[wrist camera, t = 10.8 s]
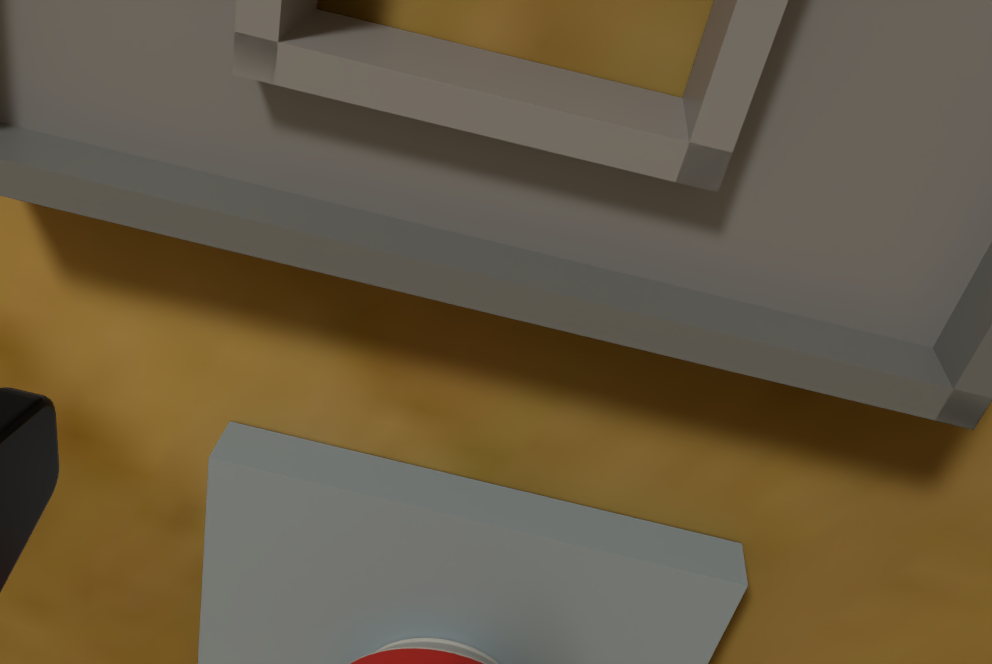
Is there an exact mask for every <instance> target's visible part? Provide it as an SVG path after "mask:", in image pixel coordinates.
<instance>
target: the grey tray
mask: <svg viewBox="0 0 992 664" xmlns="http://www.w3.org/2000/svg"><path fill="white" fill-rule="evenodd" d="M317 1H318V0H0V196H4V197H8V198H12V199H16V200H20V201H25V202H29V203H33V204H37V205H41V206H45V207H50V208H54V209H58V210H62V211H66V212H70V213H74V214H79V215H83V216H87V217H91V218H95V219H99V220H104V221H108V222H112V223H116V224H120V225H124V226H129V227H133V228H137V229H141V230H145V231H149V232H153V233H158V234H162V235H166V236H170V237H174V238H178V239H183V240H187V241H191V242H195V243H199V244H203V245H207V246H212V247H216V248H220V249H224V250H228V251H232V252H237V253H241V254H245V255H249V256H253V257H257V258H262V259H266V260H270V261H274V262H278V263H282V264H286V265H291V266H295V267H299V268H303V269H307V270H311V271H316V272H320V273H324V274H328V275H332V276H336V277H340V278H345V279H349V280H353V281H357V282H361V283H365V284H370V285H374V286H378V287H382V288H386V289H390V290H394V291H399V292H403V293H407V294H411V295H415V296H419V297H424V298H428V299H432V300H436V301H440V302H444V303H449V304H453V305H457V306H461V307H465V308H469V309H473V310H478V311H482V312H486V313H490V314H494V315H498V316H503V317H507V318H511V319H515V320H519V321H523V322H527V323H532V324H536V325H540V326H544V327H548V328H552V329H557V330H561V331H565V332H569V333H573V334H577V335H582V336H586V337H590V338H594V339H598V340H602V341H606V342H611V343H615V344H619V345H623V346H627V347H631V348H636V349H640V350H644V351H648V352H652V353H656V354H660V355H665V356H669V357H673V358H677V359H681V360H685V361H690V362H694V363H698V364H702V365H706V366H710V367H715V368H719V369H723V370H727V371H731V372H735V373H739V374H744V375H748V376H752V377H756V378H760V379H764V380H769V381H773V382H777V383H781V384H785V385H789V386H793V387H798V388H802V389H806V390H810V391H814V392H818V393H823V394H827V395H831V396H835V397H839V398H843V399H847V400H852V401H856V402H860V403H864V404H868V405H872V406H877V407H881V408H885V409H889V410H893V411H897V412H902V413H906V414H910V415H914V416H918V417H922V418H926V419H931V420H935V421H939V422H943V423H947V424H951V425H956V426H960V427H964V428H968V429H972V430H974V428H975V427H976V425H977V424H978V422H979V420H980V419H981V417H982V416H983V414H984V412H985V411H986V409H987V407H988V406H989V404H990V403H991V401H992V0H714V3H713V6H712V9H711V12H710V15H709V18H708V21H707V24H706V27H705V30H704V34H703V37H702V40H701V43H700V46H699V49H698V52H697V55H696V58H695V61H694V64H693V67H692V70H691V74H690V77H689V80H688V83H687V86H686V89H685V92H684V95H683V98H680V97H676V96H672V95H668V94H664V93H660V92H655V91H651V90H647V89H643V88H639V87H635V86H631V85H627V84H623V83H618V82H614V81H610V80H606V79H602V78H598V77H594V76H590V75H586V74H582V73H577V72H573V71H569V70H565V69H561V68H557V67H553V66H549V65H545V64H541V63H536V62H532V61H528V60H524V59H520V58H516V57H512V56H508V55H504V54H500V53H495V52H491V51H487V50H483V49H479V48H475V47H471V46H467V45H463V44H459V43H454V42H450V41H446V40H442V39H438V38H434V37H430V36H426V35H422V34H418V33H413V32H409V31H405V30H401V29H397V28H393V27H389V26H385V25H381V24H377V23H372V22H368V21H364V20H360V19H356V18H352V17H348V16H344V15H340V14H335V13H331V12H327V11H323V10H319V9H317Z"/></svg>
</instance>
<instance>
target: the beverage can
mask: <svg viewBox="0 0 992 664" xmlns="http://www.w3.org/2000/svg"><path fill="white" fill-rule="evenodd" d="M350 664H499V663H498V662H497V661H496V660H494V659H493V658H492V657H490V656H488V655H487V654H485V653H483V652H482V651H479V650H477V649H475V648H473V647H471V646H468V645H465V644H462V643H459V642H455V641H451V640H446V639H439V638H411V639H405V640H400V641H396V642H393V643H390V644H388V645H386V646H384V647H382V648H380V649H378V650H377V651H375V652H373V653H370V654H368V655H365V656H363V657H360V658H358V659H356V660H355V661H353V662H351V663H350Z"/></svg>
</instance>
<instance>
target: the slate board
mask: <svg viewBox="0 0 992 664" xmlns="http://www.w3.org/2000/svg"><path fill="white" fill-rule="evenodd" d="M747 587H748V583H747V576H746V569H745V562H744V555H743V548H742V543H738V542H734V541H729V540H725V539H721V538H717V537H713V536H708V535H704V534H700V533H696V532H692V531H687V530H683V529H679V528H675V527H671V526H667V525H662V524H658V523H654V522H650V521H646V520H641V519H637V518H633V517H629V516H625V515H620V514H616V513H612V512H608V511H604V510H599V509H595V508H591V507H587V506H583V505H578V504H574V503H570V502H566V501H562V500H558V499H553V498H549V497H545V496H541V495H537V494H532V493H528V492H524V491H520V490H516V489H511V488H507V487H503V486H499V485H495V484H490V483H486V482H482V481H478V480H474V479H469V478H465V477H461V476H457V475H453V474H449V473H444V472H440V471H436V470H432V469H428V468H423V467H419V466H415V465H411V464H407V463H402V462H398V461H394V460H390V459H386V458H381V457H377V456H373V455H369V454H365V453H360V452H356V451H352V450H348V449H344V448H340V447H335V446H331V445H327V444H323V443H319V442H314V441H310V440H306V439H302V438H298V437H293V436H289V435H285V434H281V433H277V432H272V431H268V430H264V429H260V428H256V427H251V426H247V425H243V424H239V423H235V422H231V421H230V422H229V424H228V426H227V427H226V429H225V431H224V432H223V434H222V436H221V438H220V439H219V441H218V443H217V444H216V446H215V448H214V450H213V451H212V453H211V455H210V456H209V465H208V484H207V503H206V522H205V541H204V559H203V578H202V597H201V616H200V635H199V654H198V664H350V663H351V662H353V661H355V660H356V659H358V658H360V657H363V656H365V655H368V654H370V653H373V652H375V651H377V650H378V649H380V648H382V647H384V646H386V645H388V644H390V643H393V642H396V641H400V640H405V639H411V638H439V639H446V640H451V641H455V642H459V643H462V644H465V645H468V646H471V647H473V648H475V649H477V650H479V651H482V652H483V653H485V654H487V655H488V656H490V657H492V658H493V659H494V660H496V661H497V662H498V663H499V664H708V662H709V661H710V659H711V657H712V655H713V653H714V651H715V649H716V647H717V645H718V643H719V641H720V639H721V637H722V635H723V633H724V631H725V629H726V627H727V626H728V624H729V622H730V620H731V618H732V616H733V614H734V612H735V610H736V608H737V606H738V604H739V602H740V600H741V598H742V596H743V594H744V592H745V591H746V589H747Z"/></svg>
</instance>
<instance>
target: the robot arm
mask: <svg viewBox="0 0 992 664" xmlns="http://www.w3.org/2000/svg"><path fill="white" fill-rule="evenodd" d="M58 474H59V455H58V440H57V425H56V412H55V407H54V405H53V402H52V401H51V400H50V399H49V398H47V397H46V396H43V395H40V394H35V393H31V392H27V391H23V390H18V389H14V388H0V592H1V590H2V589H3V587H4V585H5V583H6V581H7V579H8V577H9V575H10V573H11V571H12V570H13V568H14V566H15V564H16V562H17V560H18V558H19V556H20V554H21V553H22V551H23V549H24V547H25V545H26V543H27V541H28V539H29V537H30V536H31V534H32V532H33V530H34V528H35V526H36V524H37V522H38V520H39V519H40V517H41V515H42V513H43V511H44V509H45V507H46V505H47V503H48V502H49V500H50V498H51V496H52V494H53V492H54V489H55V486H56V483H57V479H58Z"/></svg>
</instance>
